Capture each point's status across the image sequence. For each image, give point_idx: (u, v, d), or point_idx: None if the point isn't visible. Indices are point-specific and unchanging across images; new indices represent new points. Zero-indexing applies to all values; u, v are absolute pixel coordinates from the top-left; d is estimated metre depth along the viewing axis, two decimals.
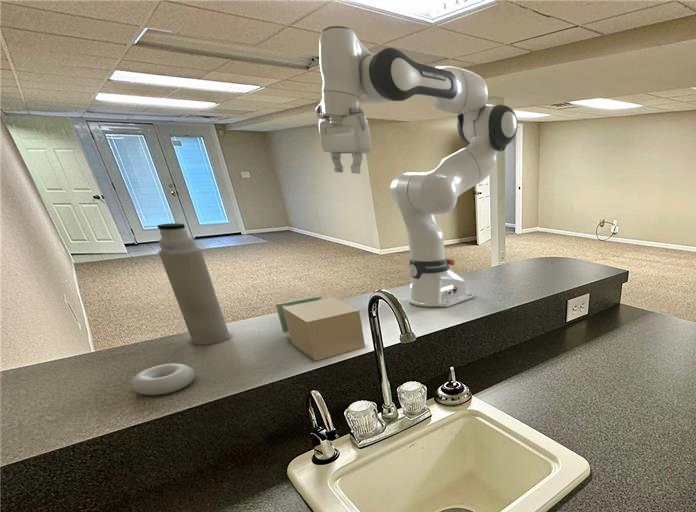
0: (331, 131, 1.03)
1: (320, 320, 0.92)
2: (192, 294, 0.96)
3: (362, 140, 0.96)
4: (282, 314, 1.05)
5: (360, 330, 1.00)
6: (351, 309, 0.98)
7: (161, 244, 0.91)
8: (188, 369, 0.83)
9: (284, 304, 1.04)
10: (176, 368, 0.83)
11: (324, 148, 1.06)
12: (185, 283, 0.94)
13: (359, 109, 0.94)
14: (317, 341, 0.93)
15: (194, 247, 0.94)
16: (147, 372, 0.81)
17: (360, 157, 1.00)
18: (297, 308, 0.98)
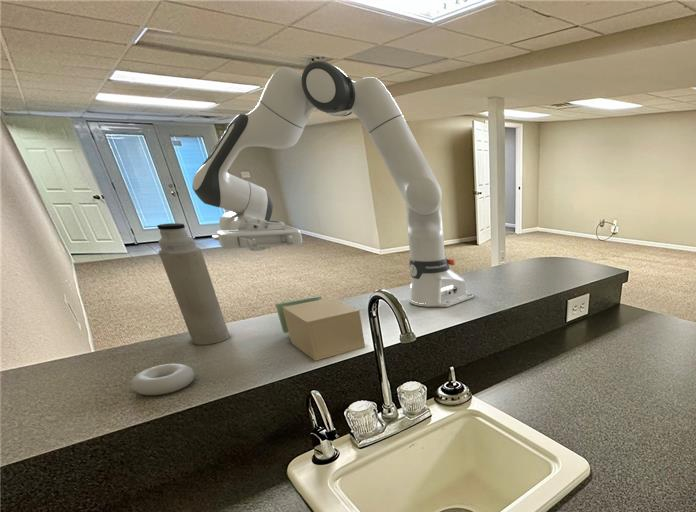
0: None
1: (320, 320, 0.92)
2: (192, 294, 0.96)
3: (220, 242, 1.04)
4: (282, 314, 1.05)
5: (360, 330, 1.00)
6: (351, 309, 0.98)
7: (161, 244, 0.91)
8: (188, 369, 0.83)
9: (284, 304, 1.04)
10: (176, 368, 0.83)
11: None
12: (185, 283, 0.94)
13: None
14: (317, 341, 0.93)
15: (194, 247, 0.94)
16: (147, 372, 0.81)
17: (239, 240, 1.04)
18: (297, 308, 0.98)
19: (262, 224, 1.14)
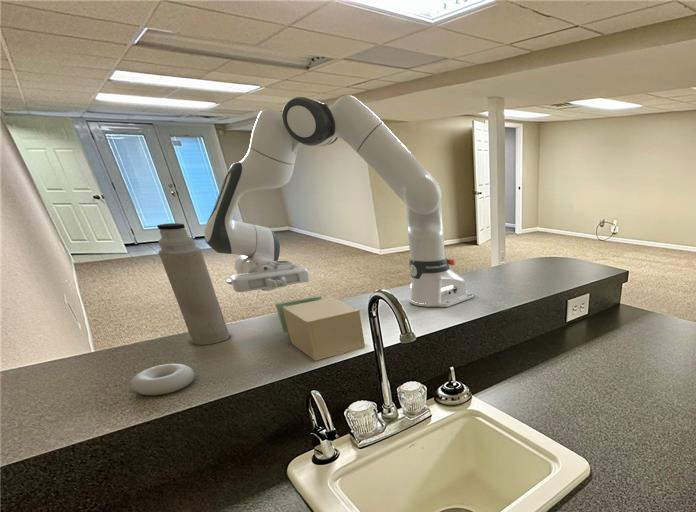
0: None
1: (320, 320, 0.92)
2: (192, 294, 0.96)
3: (233, 286, 1.11)
4: (282, 314, 1.05)
5: (360, 330, 1.00)
6: (351, 309, 0.98)
7: (161, 244, 0.91)
8: (188, 369, 0.83)
9: (284, 304, 1.04)
10: (176, 368, 0.83)
11: None
12: (185, 283, 0.94)
13: None
14: (317, 341, 0.93)
15: (194, 247, 0.94)
16: (147, 372, 0.81)
17: (266, 281, 1.13)
18: (297, 308, 0.98)
19: (272, 265, 1.21)
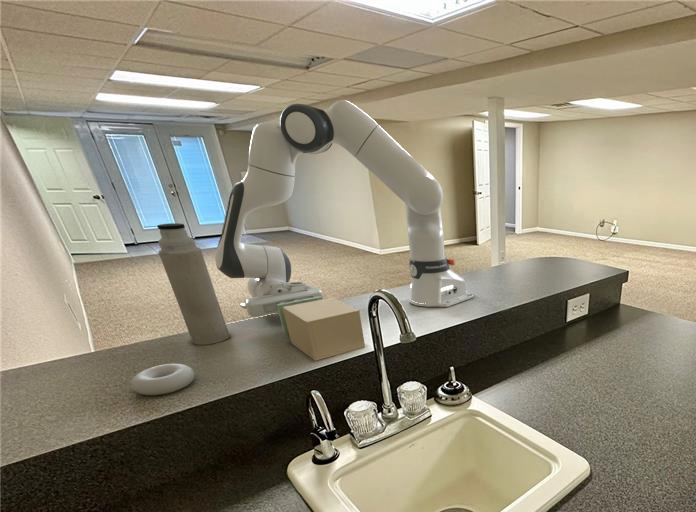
0: None
1: (320, 320, 0.92)
2: (192, 294, 0.96)
3: (247, 311, 1.09)
4: (283, 315, 1.04)
5: (360, 330, 1.00)
6: (351, 309, 0.98)
7: (161, 244, 0.91)
8: (188, 369, 0.83)
9: (285, 305, 1.04)
10: (176, 368, 0.83)
11: None
12: (185, 283, 0.94)
13: None
14: (317, 341, 0.93)
15: (194, 247, 0.94)
16: (147, 372, 0.81)
17: None
18: (297, 308, 0.98)
19: (286, 287, 1.19)
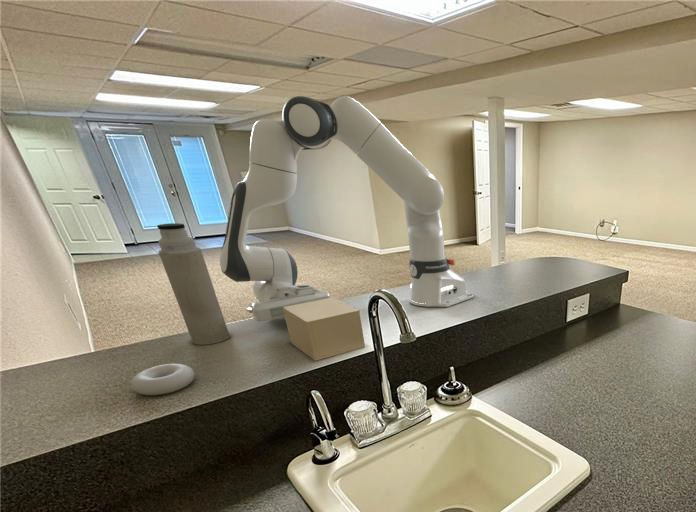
0: None
1: (320, 320, 0.92)
2: (192, 294, 0.96)
3: (254, 315, 1.06)
4: None
5: (360, 330, 1.00)
6: (351, 309, 0.98)
7: (161, 244, 0.91)
8: (188, 369, 0.83)
9: None
10: (176, 368, 0.83)
11: None
12: (185, 283, 0.94)
13: None
14: (317, 341, 0.93)
15: (194, 247, 0.94)
16: (147, 372, 0.81)
17: None
18: (297, 308, 0.98)
19: (293, 291, 1.16)
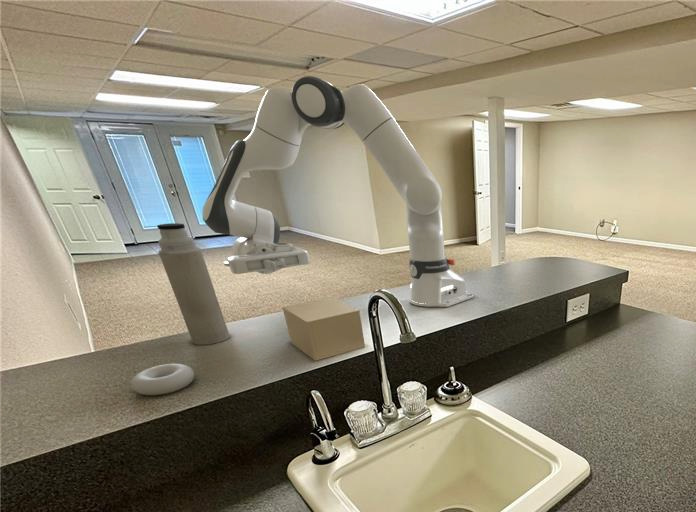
0: None
1: (320, 320, 0.92)
2: (192, 294, 0.96)
3: (230, 268, 1.07)
4: None
5: (360, 330, 1.00)
6: (351, 309, 0.98)
7: (161, 244, 0.91)
8: (188, 369, 0.83)
9: None
10: (176, 368, 0.83)
11: (304, 264, 1.18)
12: (185, 283, 0.94)
13: None
14: (317, 341, 0.93)
15: (194, 247, 0.94)
16: (147, 372, 0.81)
17: (264, 262, 1.09)
18: (297, 308, 0.98)
19: (270, 247, 1.17)
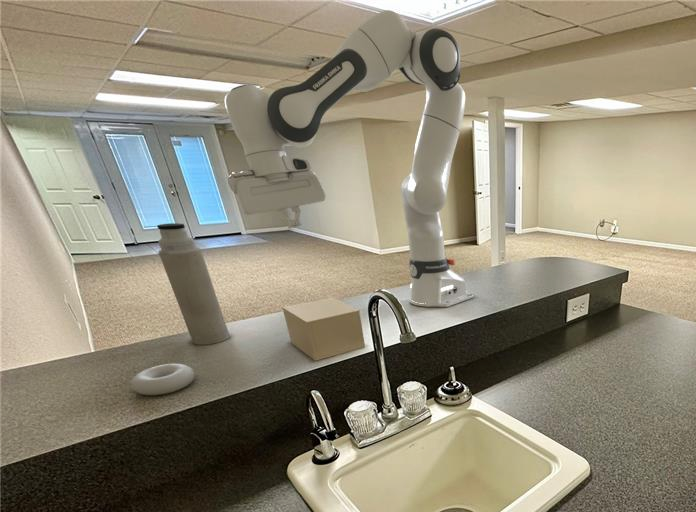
0: None
1: (320, 320, 0.92)
2: (192, 294, 0.96)
3: (239, 204, 0.96)
4: None
5: (360, 330, 1.00)
6: (351, 309, 0.98)
7: (161, 244, 0.91)
8: (188, 369, 0.83)
9: None
10: (176, 368, 0.83)
11: None
12: (185, 283, 0.94)
13: None
14: (317, 341, 0.93)
15: (194, 247, 0.94)
16: (147, 372, 0.81)
17: (279, 213, 1.01)
18: (297, 308, 0.98)
19: (287, 172, 0.98)
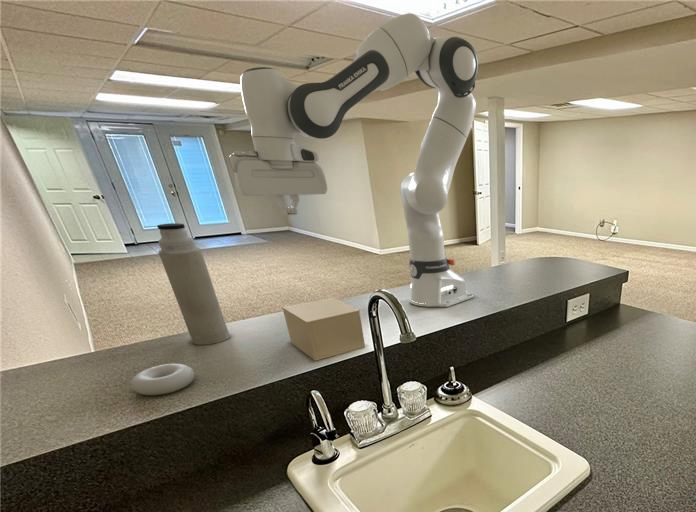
0: None
1: (320, 320, 0.92)
2: (192, 294, 0.96)
3: (237, 183, 0.93)
4: None
5: (360, 330, 1.00)
6: (351, 309, 0.98)
7: (161, 244, 0.91)
8: (188, 369, 0.83)
9: None
10: (176, 368, 0.83)
11: None
12: (185, 283, 0.94)
13: None
14: (317, 341, 0.93)
15: (194, 247, 0.94)
16: (147, 372, 0.81)
17: (277, 199, 0.99)
18: (297, 308, 0.98)
19: (293, 160, 0.97)
